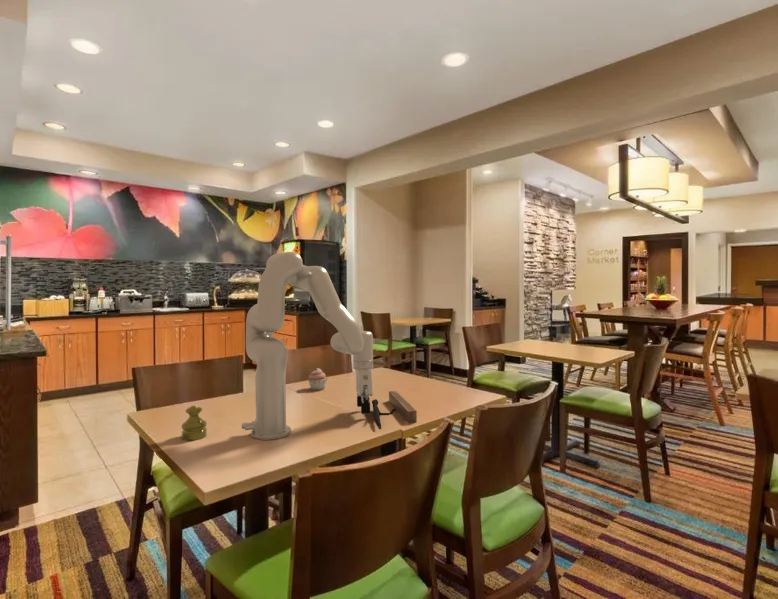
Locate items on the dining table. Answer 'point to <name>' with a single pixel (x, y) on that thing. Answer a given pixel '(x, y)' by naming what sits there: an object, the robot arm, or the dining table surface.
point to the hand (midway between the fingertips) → (363, 409)
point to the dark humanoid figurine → (378, 412)
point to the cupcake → (317, 380)
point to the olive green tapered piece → (194, 424)
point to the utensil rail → (403, 406)
